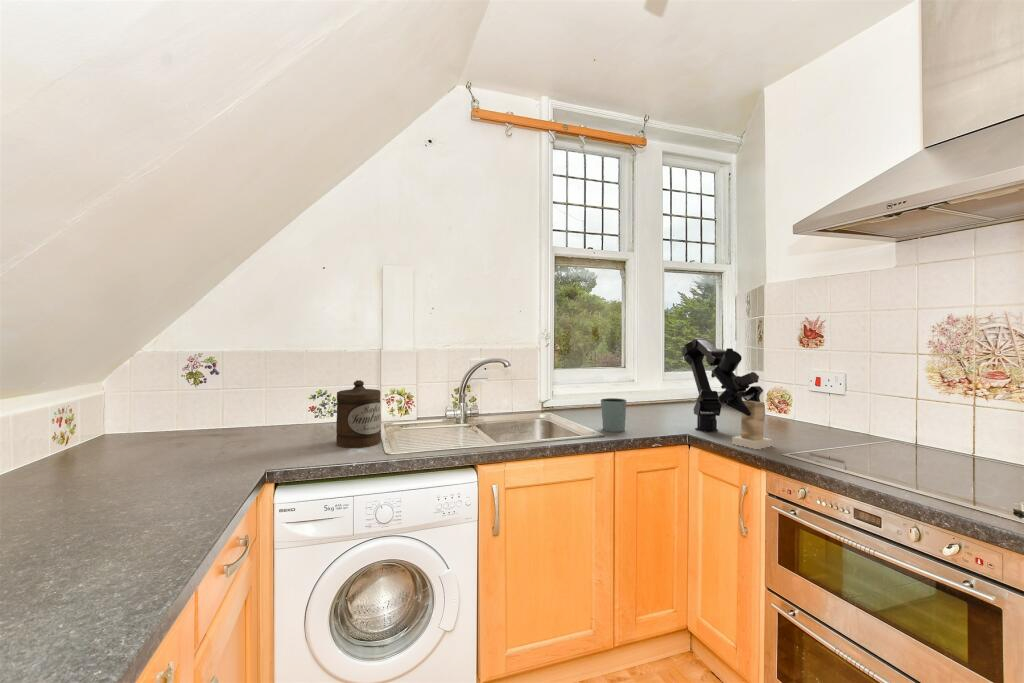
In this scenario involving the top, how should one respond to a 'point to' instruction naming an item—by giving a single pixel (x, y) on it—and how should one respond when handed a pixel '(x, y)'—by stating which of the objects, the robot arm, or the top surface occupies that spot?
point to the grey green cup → (613, 414)
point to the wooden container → (358, 417)
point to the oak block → (753, 421)
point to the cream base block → (752, 442)
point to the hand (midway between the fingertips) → (756, 414)
